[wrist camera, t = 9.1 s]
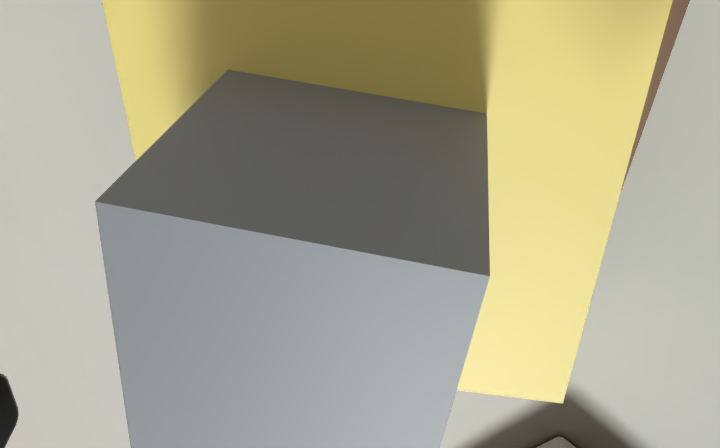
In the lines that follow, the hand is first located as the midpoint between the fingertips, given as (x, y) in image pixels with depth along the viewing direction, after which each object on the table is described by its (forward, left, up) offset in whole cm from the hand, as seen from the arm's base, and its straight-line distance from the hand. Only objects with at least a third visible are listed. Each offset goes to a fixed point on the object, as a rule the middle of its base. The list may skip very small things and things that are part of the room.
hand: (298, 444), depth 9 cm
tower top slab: (0, 0, -10) cm, 10 cm away
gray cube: (0, -1, -6) cm, 6 cm away
